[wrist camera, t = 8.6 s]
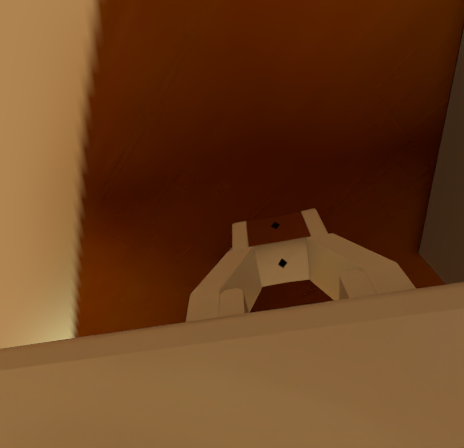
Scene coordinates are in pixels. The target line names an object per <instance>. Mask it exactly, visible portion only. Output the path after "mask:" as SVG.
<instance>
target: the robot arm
mask: <svg viewBox="0 0 464 448" xmlns="http://www.w3.org/2000/svg"><path fill="white" fill-rule="evenodd" d="M309 279H310V281H311V282H313V283H314V284H315V285H316V286H317V287H319V288H320V289H321V290H322V291H323V292H325V293H326V294H327V295H328V296H329V297H331V298H332V299H333V300H334V301H327V302H321V303H314V304H307V305H300V306H293V307H286V308H280V309H273V310H266V311H259V312H252V313H249V312H250V310H251V308H252V307H253V305H254V303H255V301H256V299H257V297H258V295H259V293H260V291H261V289H262V287H264V286H269V285H274V284H280V283H285V282H293V281H301V280H309ZM0 448H464V282H459V283H452V284H445V285H438V286H432V287H425V288H418V289H416V288H415V286H414V285H413V284H412V282H411V281H410V280H409V278H408V277H407V276H406V274H405V273H404V272H403V270H402V269H401V268H400V266H399V265H398V264H397V263H396V262H394V261H392V260H390V259H388V258H386V257H383V256H381V255H379V254H377V253H375V252H373V251H370V250H368V249H366V248H364V247H362V246H360V245H357V244H355V243H353V242H351V241H349V240H347V239H344V238H342V237H340V236H338V235H336V234H334V233H330V234H328V232H327V230H326V228H325V226H324V224H323V222H322V220H321V218H320V216H319V214H318V213H317V211H316V209H314V208H313V209H308V210H303V211H299V212H295V213H290V214H285V215H280V216H275V217H267V218H261V219H254V220H248V221H242V222H237V223H233V224H232V250H231V251H228V252H227V253H226V254H225V256H224V257H223V258H222V259H221V260H220V261H219V262H218V264H217V265H216V266H215V267H214V268H213V269H212V270H211V271H210V273H209V274H208V275H207V276H206V277H205V278H204V279H203V281H202V282H201V283H200V284H199V285H198V286H197V287H196V289H195V290H194V291H193V292H192V293H191V294H190V299H189V305H188V312H187V318H186V322H183V323H176V324H169V325H162V326H155V327H148V328H141V329H134V330H127V331H120V332H113V333H107V334H100V335H93V336H86V337H79V338H72V339H65V340H58V341H51V342H44V343H37V344H30V345H23V346H16V347H10V348H3V349H0Z"/></svg>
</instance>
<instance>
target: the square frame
mask: <svg viewBox="0 0 464 448" xmlns="http://www.w3.org/2000/svg"><path fill="white" fill-rule="evenodd" d="M419 255H420V256H421V257H422V258H423V259H424V260H425V261H426V262H427V264H428V265H429V266H430V267H431V268H432V269H433V270H434V271H435V273H436V274H437V275H438V276H439V277H440V278H441V279H442V280H443V282H444V283H445V284H452V283H459V282H464V29H463V34H462V39H461V44H460V49H459V54H458V59H457V64H456V69H455V74H454V79H453V84H452V89H451V94H450V99H449V104H448V109H447V114H446V119H445V124H444V129H443V134H442V139H441V144H440V149H439V154H438V159H437V164H436V169H435V174H434V179H433V184H432V189H431V194H430V199H429V204H428V209H427V214H426V219H425V224H424V228H423V233H422V238H421V243H420V248H419Z"/></svg>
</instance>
